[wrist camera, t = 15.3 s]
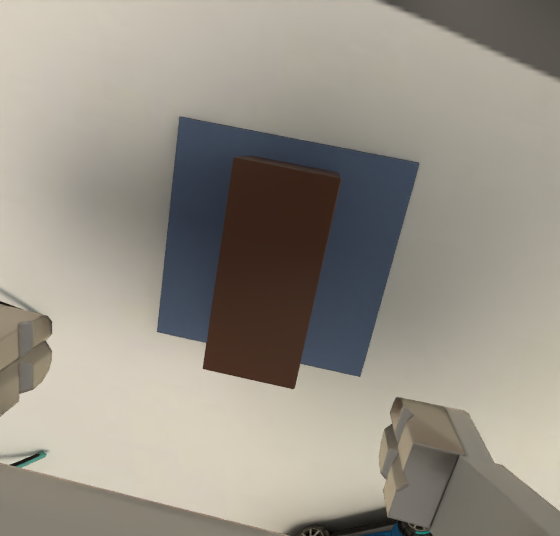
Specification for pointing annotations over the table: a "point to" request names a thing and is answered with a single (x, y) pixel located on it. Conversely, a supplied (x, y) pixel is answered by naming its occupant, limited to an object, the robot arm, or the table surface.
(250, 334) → the brown rectangular block
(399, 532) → the toy car
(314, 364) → the cloth
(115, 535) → the robot arm
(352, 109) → the table surface
